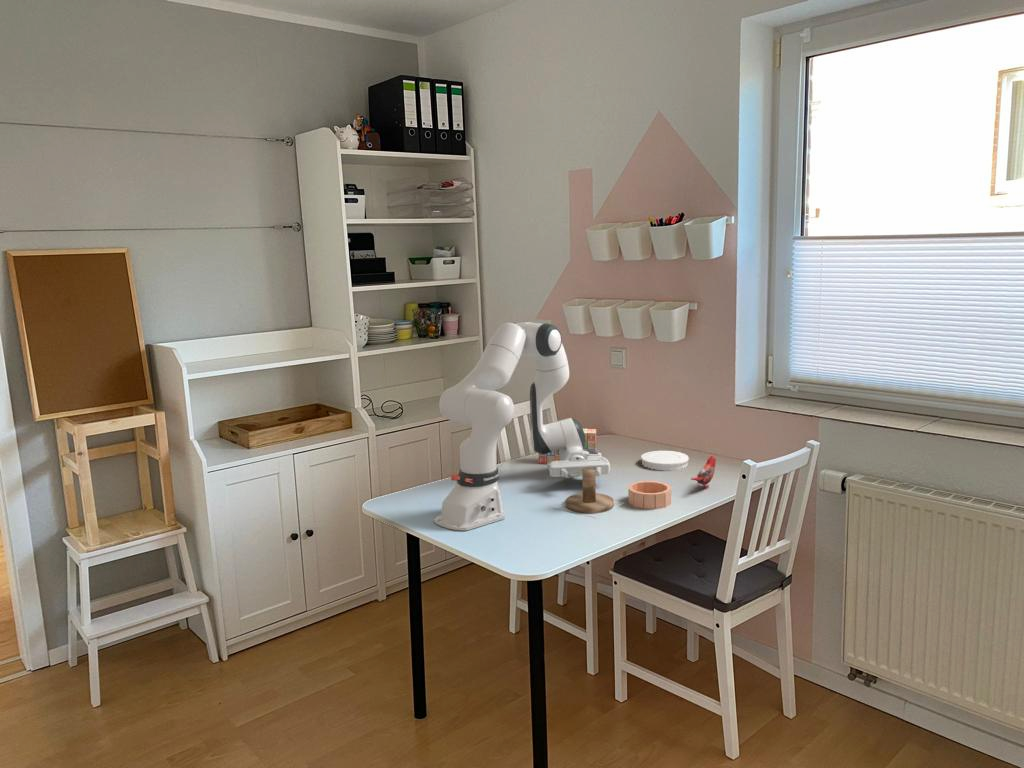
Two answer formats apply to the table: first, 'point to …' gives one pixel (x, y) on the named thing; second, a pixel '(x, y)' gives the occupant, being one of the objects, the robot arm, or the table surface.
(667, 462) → the lid
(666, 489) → the terracotta bowl
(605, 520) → the table surface
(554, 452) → the stack of blocks
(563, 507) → the rubber mat
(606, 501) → the walnut lid
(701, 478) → the decorative bird figurine
